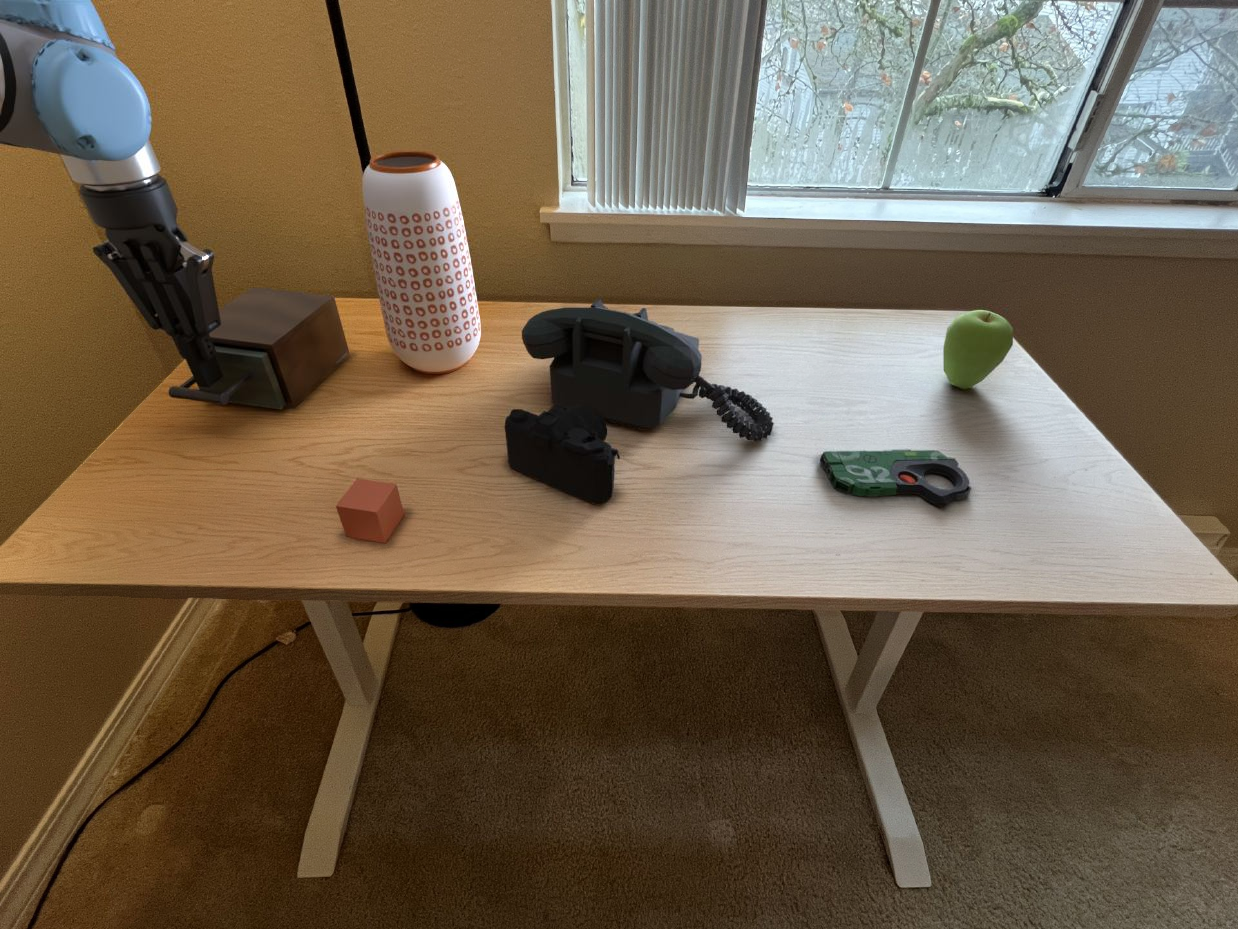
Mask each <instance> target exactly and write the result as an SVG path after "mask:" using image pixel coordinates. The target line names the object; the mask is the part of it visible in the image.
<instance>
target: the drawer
mask: <svg viewBox="0 0 1238 929" xmlns="http://www.w3.org/2000/svg"><path fill="white" fill-rule="evenodd" d="M213 345H214V347H215V350H216V352H217V356H216V357H215V358H216V360H217V362H218V365H219V367H220V369H221V372H222V374H223V377H222V378H220V379H219V380H218V381H217V382H215V383H214V384H213V385H211V386H210V387H209V388H208V387H200V386H198V385H197V383H196V381H195V379H194V377H193V375H192V376H190V377H189V378H188V379H187V380H185V381H184V382H183V383H181V384H180V385H178V386H177V385H176V386H175V385H172V386H170V387H169V389H168V393H167V394H168V396H169V397H170V398H173V399H179V400H186V401H192V402H193V401H194V402H201V403H207V404H215V405H221V406H225V405H227V404H228V403H232V404H241V405H246V406H247V405H248V406H252V407H253V406H254V407H260V408H267V409H268V408H269V409H276V410H282V409H283V408H285V407H284V406H285V405H286V403H285V400H284V398H283V396H285V394H284V392H283V389H282V386H281V383H280V381H279V378H278V375H277V372H276V370H275V367H274V364H273V361H272V359H271V356H270V353H269V350H267V349H259V348H252V347H244V346H236V345H228V344H220V343H213ZM190 372H191V371H190ZM191 374H192V372H191ZM195 384H196V385H197V389H196V388H190V387H192V386H193V385H195Z"/></svg>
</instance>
